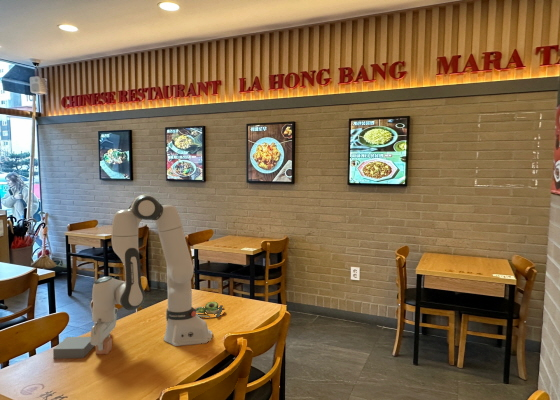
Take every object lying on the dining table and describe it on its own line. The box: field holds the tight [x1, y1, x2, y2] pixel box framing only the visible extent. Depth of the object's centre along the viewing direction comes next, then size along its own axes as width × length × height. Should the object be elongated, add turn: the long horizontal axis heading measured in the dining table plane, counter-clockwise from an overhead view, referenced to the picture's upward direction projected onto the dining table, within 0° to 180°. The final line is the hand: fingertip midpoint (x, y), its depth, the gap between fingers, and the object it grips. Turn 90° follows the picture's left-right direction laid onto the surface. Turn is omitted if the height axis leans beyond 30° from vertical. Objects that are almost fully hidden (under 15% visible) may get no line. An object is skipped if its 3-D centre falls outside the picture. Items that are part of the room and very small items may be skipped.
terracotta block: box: [95, 336, 113, 355], centre depth 167 cm, size 5×5×5 cm
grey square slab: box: [52, 336, 96, 359], centre depth 166 cm, size 12×12×4 cm
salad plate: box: [195, 301, 224, 318], centre depth 216 cm, size 19×18×5 cm
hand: (103, 346), depth 167 cm, fingers closed on terracotta block, 5 cm apart
